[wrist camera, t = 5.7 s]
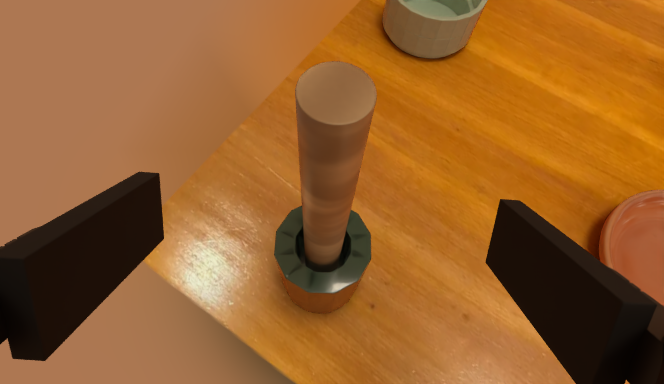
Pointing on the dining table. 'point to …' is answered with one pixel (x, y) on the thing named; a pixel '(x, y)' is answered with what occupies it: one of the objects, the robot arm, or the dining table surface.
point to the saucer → (637, 242)
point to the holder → (321, 287)
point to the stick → (330, 153)
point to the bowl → (431, 25)
